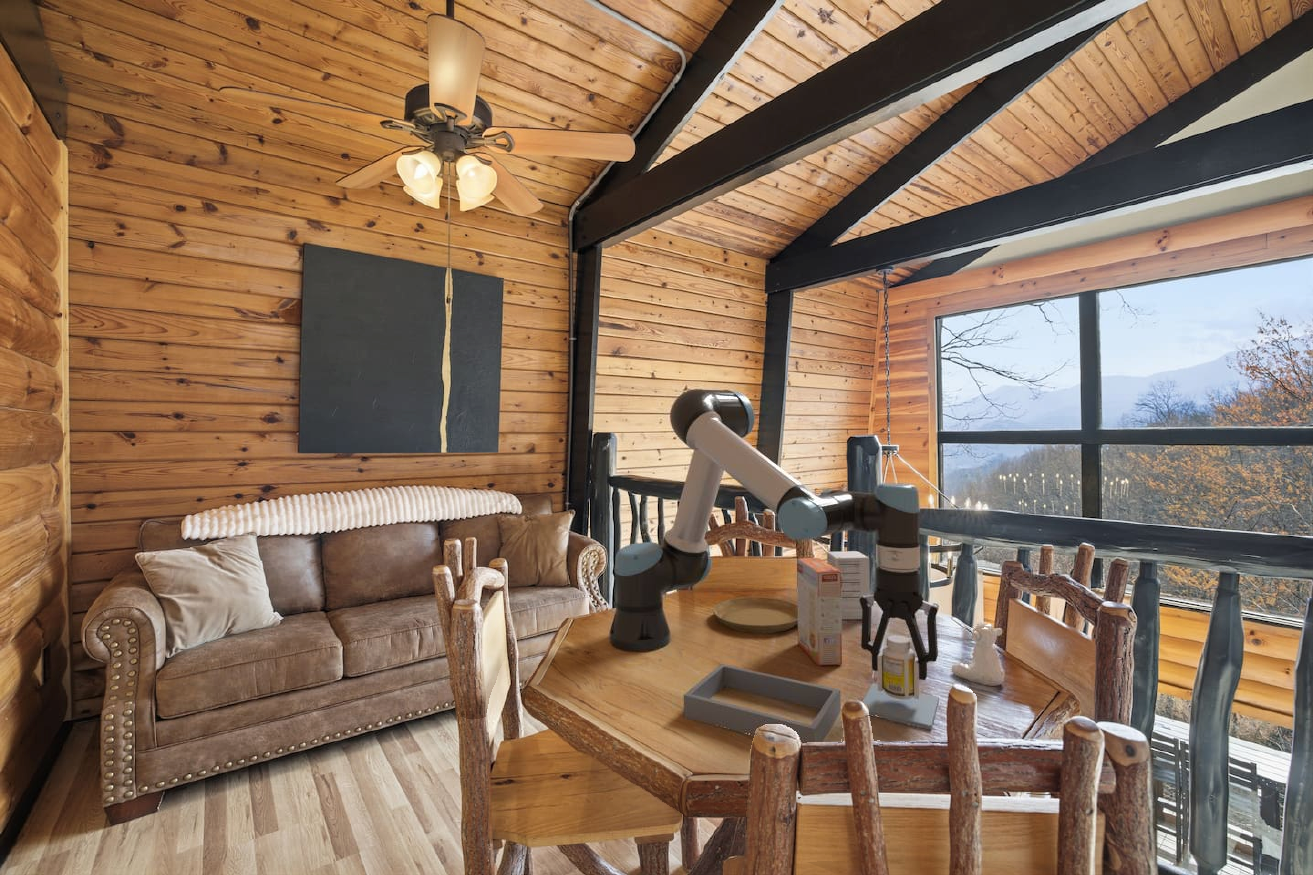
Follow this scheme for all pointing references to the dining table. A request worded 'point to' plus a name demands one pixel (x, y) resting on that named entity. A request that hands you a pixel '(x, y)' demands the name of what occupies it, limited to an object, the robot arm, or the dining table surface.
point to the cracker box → (820, 610)
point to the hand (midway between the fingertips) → (899, 691)
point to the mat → (902, 708)
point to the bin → (766, 685)
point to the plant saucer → (757, 614)
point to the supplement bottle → (898, 668)
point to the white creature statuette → (983, 658)
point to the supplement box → (851, 580)
